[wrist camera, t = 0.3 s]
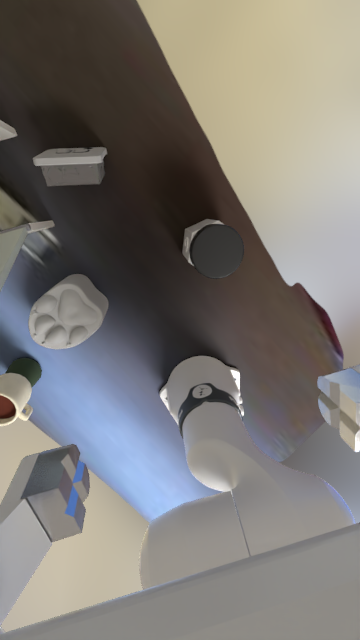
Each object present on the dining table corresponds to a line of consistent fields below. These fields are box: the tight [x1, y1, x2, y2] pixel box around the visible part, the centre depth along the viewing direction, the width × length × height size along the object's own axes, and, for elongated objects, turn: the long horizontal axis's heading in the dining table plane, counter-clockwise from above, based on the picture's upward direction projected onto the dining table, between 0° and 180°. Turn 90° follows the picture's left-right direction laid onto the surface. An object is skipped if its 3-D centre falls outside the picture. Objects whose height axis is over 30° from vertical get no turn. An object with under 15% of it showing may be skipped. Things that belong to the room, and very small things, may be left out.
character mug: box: [0, 358, 42, 426], centre depth 53 cm, size 11×7×13 cm, turn 38°
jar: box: [182, 219, 244, 279], centre depth 48 cm, size 9×8×12 cm
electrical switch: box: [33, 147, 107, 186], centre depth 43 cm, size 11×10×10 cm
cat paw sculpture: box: [28, 274, 108, 349], centre depth 52 cm, size 10×13×9 cm
